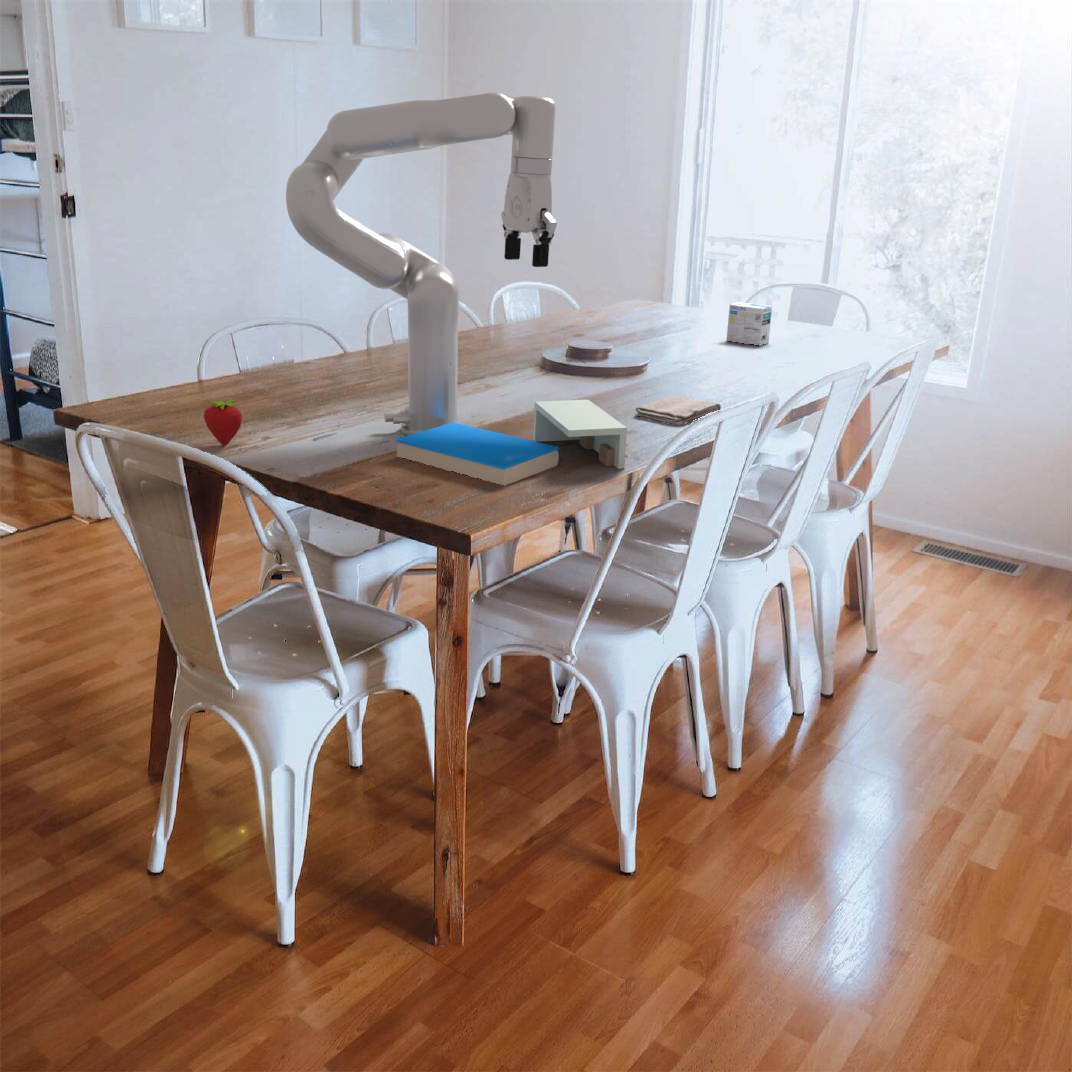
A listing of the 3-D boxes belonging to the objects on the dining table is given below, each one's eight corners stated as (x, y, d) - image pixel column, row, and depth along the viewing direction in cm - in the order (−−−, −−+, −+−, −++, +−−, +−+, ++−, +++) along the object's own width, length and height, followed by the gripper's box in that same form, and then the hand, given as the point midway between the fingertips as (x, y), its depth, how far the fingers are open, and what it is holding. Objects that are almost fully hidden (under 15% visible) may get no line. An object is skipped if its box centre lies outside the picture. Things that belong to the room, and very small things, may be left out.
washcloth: (631, 419, 241) (632, 404, 240) (674, 404, 254) (675, 391, 253) (680, 429, 234) (681, 415, 233) (721, 414, 248) (722, 400, 247)
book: (505, 467, 192) (394, 437, 205) (504, 491, 193) (394, 460, 207) (561, 446, 205) (454, 419, 218) (559, 468, 207) (453, 440, 220)
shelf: (566, 471, 202) (569, 430, 199) (533, 440, 221) (534, 401, 218) (624, 468, 205) (627, 427, 203) (586, 437, 224) (588, 399, 221)
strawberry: (219, 438, 214) (216, 386, 210) (251, 444, 211) (248, 392, 207) (197, 445, 209) (194, 392, 205) (230, 452, 206) (226, 398, 202)
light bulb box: (769, 343, 325) (773, 305, 321) (760, 346, 319) (764, 308, 315) (734, 338, 330) (738, 301, 326) (725, 341, 324) (729, 303, 321)
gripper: (489, 164, 212) (485, 257, 219) (540, 171, 199) (534, 270, 205) (523, 165, 216) (518, 256, 223) (574, 172, 203) (567, 269, 209)
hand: (525, 262), depth 214 cm, fingers open, 9 cm apart
